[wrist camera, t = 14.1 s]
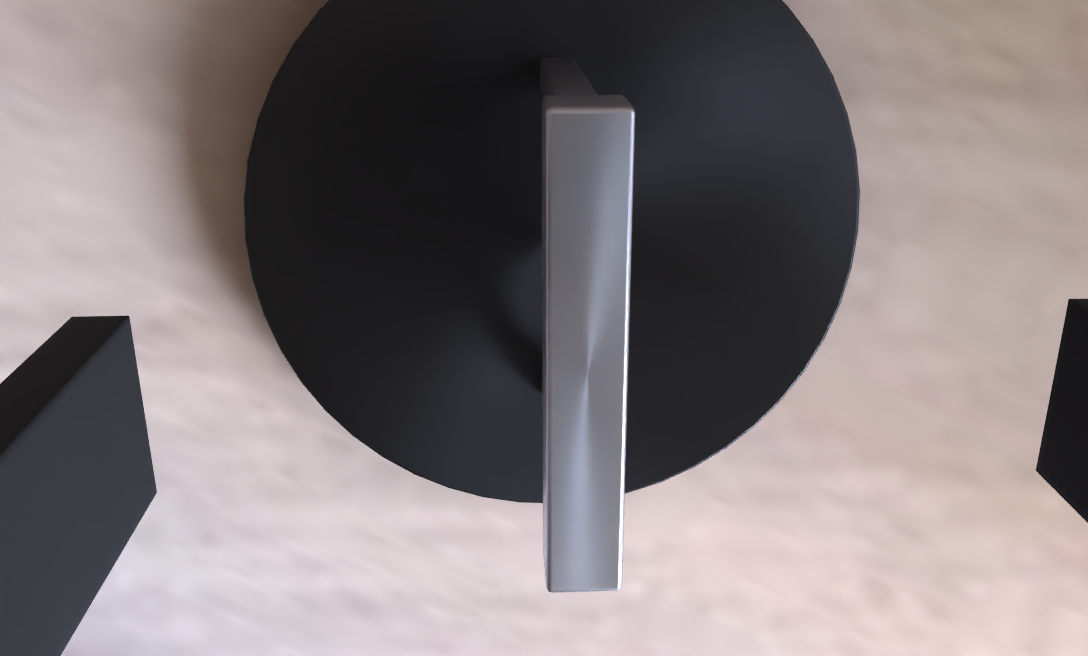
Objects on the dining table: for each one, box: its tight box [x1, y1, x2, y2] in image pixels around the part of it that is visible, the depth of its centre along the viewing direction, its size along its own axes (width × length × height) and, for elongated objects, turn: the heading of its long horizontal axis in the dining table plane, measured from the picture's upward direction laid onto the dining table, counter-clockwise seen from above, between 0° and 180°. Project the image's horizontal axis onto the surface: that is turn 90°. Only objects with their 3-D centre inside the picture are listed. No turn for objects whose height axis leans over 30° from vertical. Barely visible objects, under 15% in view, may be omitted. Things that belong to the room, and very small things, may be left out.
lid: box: [244, 0, 860, 592], centre depth 20 cm, size 14×14×9 cm
